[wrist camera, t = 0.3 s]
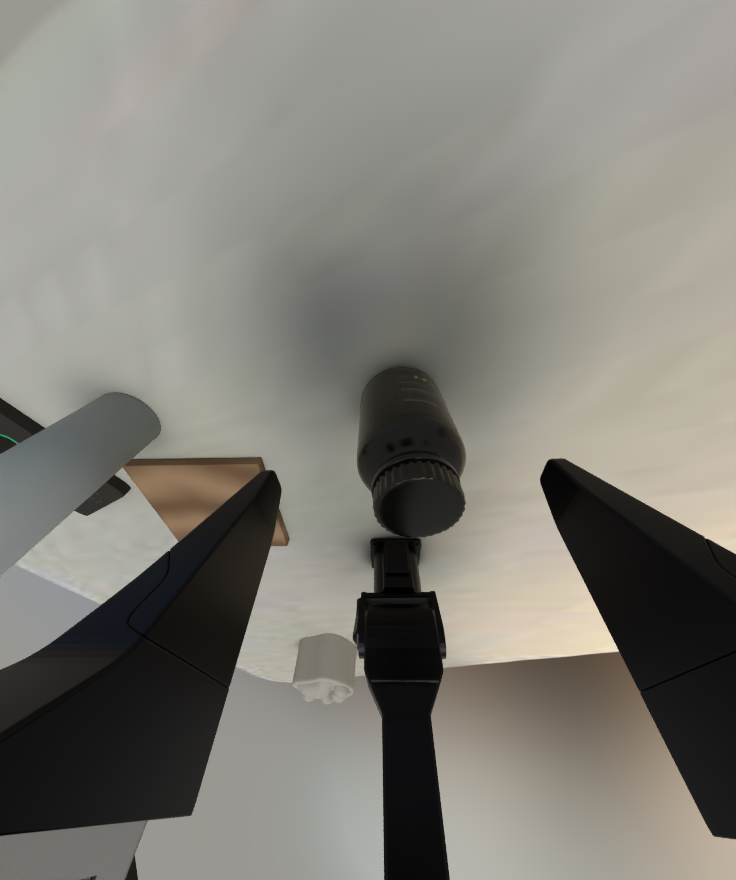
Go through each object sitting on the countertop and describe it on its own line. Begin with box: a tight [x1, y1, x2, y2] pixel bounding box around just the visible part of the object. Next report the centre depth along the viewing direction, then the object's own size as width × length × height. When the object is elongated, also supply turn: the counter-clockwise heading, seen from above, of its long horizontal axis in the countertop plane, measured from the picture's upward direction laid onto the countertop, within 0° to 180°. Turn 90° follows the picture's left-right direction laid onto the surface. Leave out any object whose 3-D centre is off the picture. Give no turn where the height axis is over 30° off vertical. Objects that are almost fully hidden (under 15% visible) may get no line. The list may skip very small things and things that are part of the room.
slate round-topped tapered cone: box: [0, 392, 161, 576], centre depth 20 cm, size 5×5×14 cm
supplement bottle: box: [357, 367, 466, 538], centre depth 19 cm, size 7×7×12 cm
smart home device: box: [0, 398, 131, 516], centre depth 27 cm, size 8×2×20 cm
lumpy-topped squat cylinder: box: [292, 633, 356, 704], centre depth 56 cm, size 10×13×9 cm
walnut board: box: [123, 458, 289, 546], centre depth 32 cm, size 14×14×1 cm
